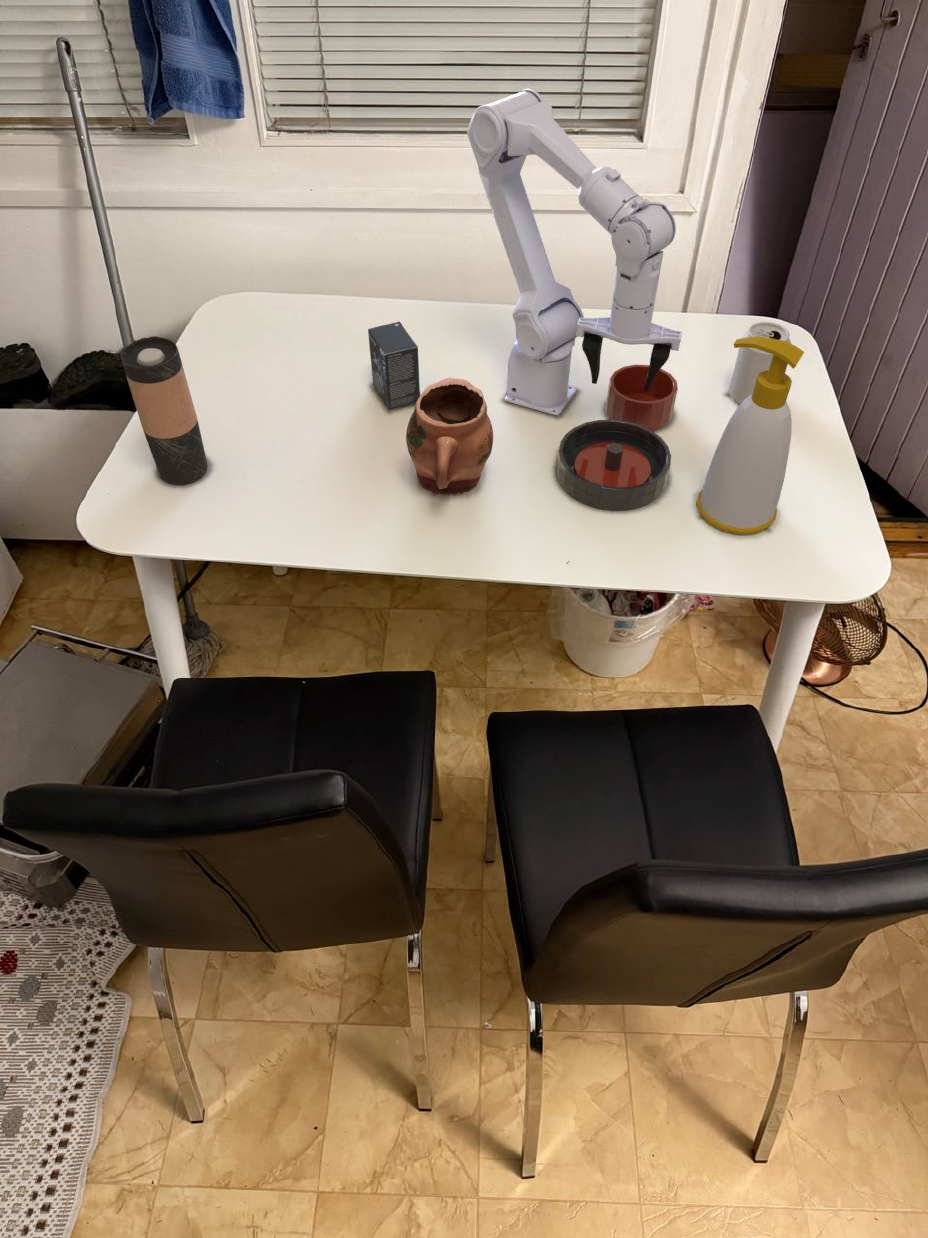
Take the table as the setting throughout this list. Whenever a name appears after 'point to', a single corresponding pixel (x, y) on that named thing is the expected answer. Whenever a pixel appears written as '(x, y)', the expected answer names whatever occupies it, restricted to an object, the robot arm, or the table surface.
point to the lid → (612, 465)
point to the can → (754, 359)
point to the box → (394, 365)
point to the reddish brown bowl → (641, 397)
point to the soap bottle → (753, 449)
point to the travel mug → (165, 409)
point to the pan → (610, 495)
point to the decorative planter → (449, 437)
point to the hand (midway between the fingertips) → (620, 383)
